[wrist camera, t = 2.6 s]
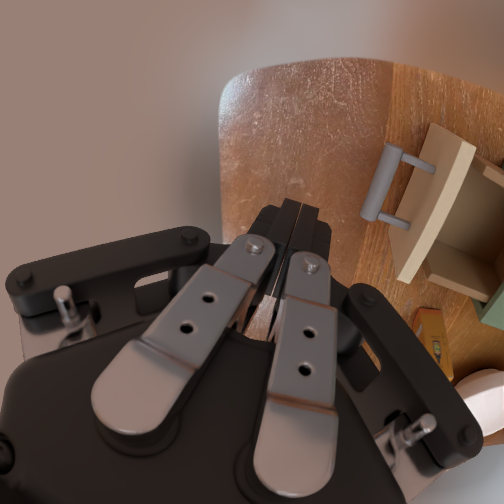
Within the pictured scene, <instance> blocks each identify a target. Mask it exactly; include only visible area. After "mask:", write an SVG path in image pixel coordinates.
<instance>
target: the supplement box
mask: <svg viewBox="0 0 504 504" xmlns="http://www.w3.org/2000/svg"><path fill="white" fill-rule="evenodd" d="M413 333H414V334H415V335H416V336H417V338H418V339H419V340H420V342H421V343H422V344H423V345H424V347H425V348H426V349H427V351H428V352H429V353H430V355H431V356H432V357H433V359H434V360H435V361H436V363H437V364H438V365H439V367H440V368H441V369H442V371H443V372H444V374H445V375H446V376H447V378H448V379H449V381H450V382H451V381H452V379H453V377H454V374H453V368H452V362H451V356H450V350H449V345H448V339H447V334H446V329H445V325H444V320H443V315H442V311H441V310H436V309H425V308H419V310H418V313H417V315H416V317H415V320H414V322H413Z"/></svg>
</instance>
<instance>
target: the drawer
mask: <svg viewBox="0 0 504 504" xmlns="http://www.w3.org/2000/svg"><path fill="white" fill-rule="evenodd" d="M403 151H404V150H403V149H402V148H401V147H399V146H397V145H395V144H392V143H389V142H386V143H385V146H384V149H383V152H382V155H381V157H380V160H379V163H378V166H377V169H376V171H375V174H374V177H373V179H372V182H371V185H370V187H369V190H368V193H367V195H366V198H365V200H364V203H363V205H362V208H361V210H360V216H361V217H362V218H364V219H366V220H368V221H372V222H373V221H376V218H377V219H378V220H381V221H384V222H386V223H389V224H390V227H389V229H388V235H389V239H390V244H391V250H392V255H393V260H394V266H395V272H396V278H397V280H400V281H402V282H405V283H408V284H410V282H411V280H412V279H413V277H414V276H415V274H416V272H417V271H418V269H419V267H420V265H421V264H423V268H424V271H425V275H426V278H427V280H428V281H430V282H432V283H435V284H438V285H440V286H443V287H446V288H448V289H451V290H454V291H456V292H459V293H461V294H464V295H467V296H469V297H472V298H474V299H477V300H479V301H482V302H485V303H487V304H488V302H489V301H490V299H491V298H492V297H493V295H494V294H495V293H496V291H497V290H498V288H499V287H500V285H501V284H502V283H503V281H504V170H502V169H501V168H499V167H498V166H496V165H495V164H493V163H491V162H490V161H488V160H486V159H485V158H483V157H481V156H480V155H478V154H476V153H475V151H476V147H475V146H473V145H472V144H470V143H468V142H467V141H465V140H464V139H462V138H460V137H459V136H457V135H455V134H454V133H452V132H450V131H448V130H447V129H445V128H443V127H441V126H439V125H437V124H435V123H433V122H431V124H430V127H429V130H428V133H427V136H426V139H425V141H424V144H423V147H422V150H421V152H420V155H419V158H417V157H415V156H412V155H410V154H408V153H405V152H403ZM400 159H401V161H404V162H406V163H409V164H411V165H413V166H415V168H414V171H413V173H412V176H411V178H410V181H409V183H408V186H407V188H406V190H405V193H404V195H403V197H402V200H401V202H400V204H399V207H398V209H397V211H396V213H395V216H394V215H391V214H389V213H386V212H384V211H381V210H380V209H381V207H382V204H383V202H384V200H385V197H386V195H387V192H388V190H389V187H390V185H391V182H392V180H393V177H394V175H395V172H396V169H397V167H398V164H399V161H400Z"/></svg>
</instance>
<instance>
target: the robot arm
mask: <svg viewBox="0 0 504 504" xmlns="http://www.w3.org/2000/svg"><path fill="white" fill-rule="evenodd" d="M301 204H302V203H300V202H297V201H294V200H291V199H288V198H285V200H284V202H283V204H282V206H281V208H279V207H276V206H273V205H268V206H266V207H264V208H262V210H261V211H260V213H259V215H258V216H257V218H256V220H255V221H254V223H253V224H252V226H251V227H250V229H249V231H248V232H247V234H243V235H240V236H238V237H237V238H236V239H235V240H234V241H233V242H232V244H228V245H224V244H214V243H210V236H209V235H208V233H207V232H206V231H204V230H202V229H200V228H198V227H193V226H182V227H177V228H173V229H168V230H163V231H159V232H154V233H149V234H145V235H140V236H136V237H131V238H127V239H123V240H119V241H115V242H110V243H106V244H101V245H97V246H94V247H90V248H85V249H81V250H77V251H73V252H69V253H65V254H61V255H57V256H53V257H49V258H46V259H42V260H38V261H34V262H31V263H27V264H23V265H21V266H19V267H17V268H16V269H14V270H13V271H12V272H11V273H10V274H9V275H8V277H7V279H6V283H5V286H6V290H7V292H8V294H9V297H10V299H11V301H12V303H13V305H14V310H15V312H16V314H17V316H18V318H19V324H20V334H21V342H22V349H23V357H24V362H23V363H22V364H20V365H19V366H18V367H17V368H16V369H15V370H14V371H13V373H12V374H11V376H10V378H9V379H8V381H7V384H6V387H5V390H4V396H3V402H2V408H1V412H0V504H408V503H409V502H410V501H411V500H413V499H414V498H415V497H416V496H418V495H419V494H420V493H421V492H422V491H423V490H424V489H426V488H427V487H428V486H429V485H430V484H431V483H432V482H434V481H435V480H436V479H437V478H438V477H439V476H440V475H441V474H442V473H444V472H446V471H448V470H450V469H452V468H454V467H456V466H458V465H460V464H462V463H464V462H466V461H467V460H469V459H471V458H473V457H475V456H476V455H477V454H478V453H479V452H480V450H481V449H482V446H483V432H482V429H481V426H480V425H479V423H478V421H477V420H476V418H475V417H474V415H473V414H472V412H471V411H470V409H469V408H468V406H467V405H466V403H465V402H464V400H463V399H462V398H461V396H460V395H459V393H458V392H457V390H456V389H455V388H454V386H453V385H452V383H451V382H450V381H449V379H448V378H447V376H446V375H445V374H444V372H443V371H442V369H441V368H440V367H439V365H438V364H437V363H436V361H435V360H434V359H433V357H432V356H431V355H430V353H429V352H428V351H427V349H426V348H425V347H424V345H423V344H422V343H421V342H420V340H419V339H418V338H417V336H416V335H415V334H414V333H413V331H412V330H411V329H410V327H409V326H408V325H407V324H406V322H405V321H404V320H403V319H402V317H401V316H400V315H399V314H398V312H397V311H396V310H395V309H394V308H393V306H392V305H391V304H390V303H389V302H388V300H387V299H386V298H385V297H384V295H383V294H382V293H381V292H380V291H379V290H377V289H376V288H374V287H372V286H370V285H368V284H364V283H356V284H354V285H352V286H351V287H350V289H349V288H347V287H345V286H343V285H342V284H340V283H339V282H337V281H336V280H335V279H334V278H333V277H332V276H331V269H330V266H329V264H328V257H329V249H330V241H331V233H332V230H331V228H330V227H329V225H328V223H325V222H322V221H319V220H317V217H318V213H319V208H316V207H313V206H310V205H307V204H304V203H303V205H302V208H301V211H300V207H301ZM299 211H300V214H299ZM298 214H299V217H298ZM297 217H298V220H297ZM296 220H297V223H296ZM295 224H296V226H295ZM294 227H295V229H294ZM293 230H294V231H293ZM292 233H293V234H292ZM291 236H292V237H291ZM290 239H291V240H290ZM289 242H290V243H289ZM288 245H289V246H288ZM287 248H288V249H287ZM286 251H287V252H286ZM285 254H286V255H285ZM284 257H285V258H284ZM283 260H284V261H283ZM282 262H283V265H282ZM281 265H282V268H281ZM280 268H281V271H280ZM165 271H168V279H165V280H161V281H158V282H154V283H151V284H148V285H144V286H140V287H137V288H134V286H135V284H136V282H137V281H138V280H140V279H141V278H144V277H147V276H151V275H154V274H158V273H162V272H165ZM279 271H280V274H279ZM278 274H279V277H278V280H277V283H276V286H275V289H274V292H273V295H272V297H275V298H277V300H276V303H275V306H274V308H273V311H272V314H271V318H270V322H269V327H268V331H267V335H266V339H265V341H259V340H253V339H250V338H248V337H246V336H245V335H244V334H245V333H246V331H247V329H248V327H249V325H250V323H251V321H252V319H253V317H254V316H255V314H256V312H257V310H258V307H259V304H260V303H261V302H262V300H263V297H264V295H265V294H266V295H269V296H270V295H271V293H272V290H273V287H274V285H275V282H276V279H277V276H278ZM364 341H366V342H367V343H368V345H369V346H370V348H371V349H372V351H373V352H374V353H375V355H376V356H377V358H378V359H379V361H380V365H381V370H380V372H379V370H378V369H377V367H376V366H375V364H374V363H373V361H372V360H371V358H370V357H369V355H368V354H367V353H366V351H365V350H364V348H363V347H362V344H363V342H364Z"/></svg>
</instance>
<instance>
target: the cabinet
mask: <svg viewBox="0 0 504 504" xmlns="http://www.w3.org/2000/svg"><path fill="white" fill-rule="evenodd" d="M501 169H502V170H504V163H503V165H502V168H501ZM471 299H472V301H473V304H474V307H475V310H476V313H477V315H478V318H479V321H480V322H481V323H484V324H487V325H490V326H492V327H495V328H498V329H501V330H504V281H503V283H502V284H501V285H500V287H499V288H498V290H497V291H496V293H495V294H494V295H493V297H492V298H491V299H490V301H489V302H488V304H487V303H485V302H482V301H479V300H477V299H474V298H472V297H471Z"/></svg>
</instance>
